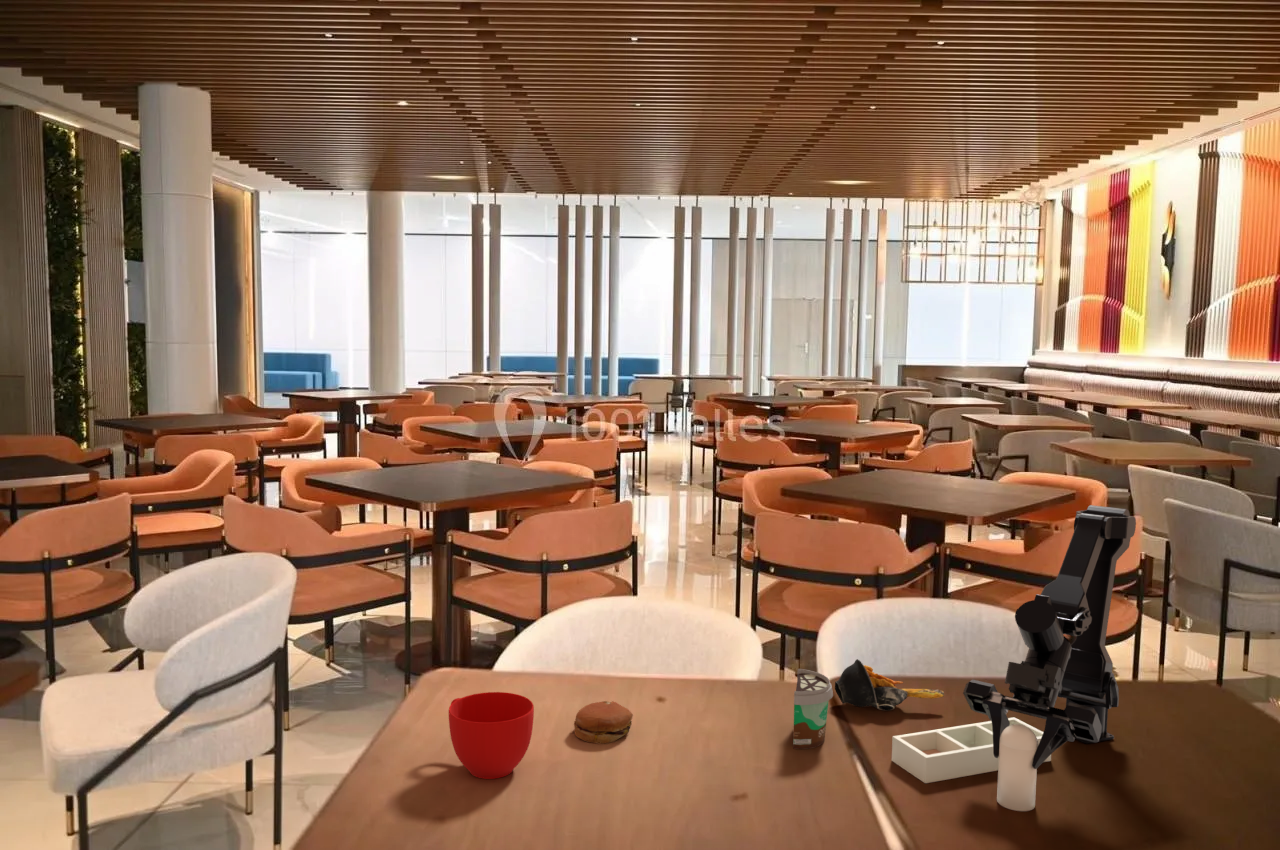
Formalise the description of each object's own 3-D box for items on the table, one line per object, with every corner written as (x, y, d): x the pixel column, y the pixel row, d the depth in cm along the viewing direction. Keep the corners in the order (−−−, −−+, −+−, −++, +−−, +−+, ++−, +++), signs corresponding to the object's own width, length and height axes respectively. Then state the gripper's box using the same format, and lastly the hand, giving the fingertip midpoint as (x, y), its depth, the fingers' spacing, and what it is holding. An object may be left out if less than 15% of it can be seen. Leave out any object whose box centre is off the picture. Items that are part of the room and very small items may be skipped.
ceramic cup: (485, 738, 167) (485, 679, 166) (550, 770, 155) (551, 707, 154) (418, 760, 158) (417, 699, 157) (481, 797, 146) (481, 730, 145)
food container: (831, 755, 162) (833, 695, 161) (792, 752, 163) (794, 692, 162) (832, 726, 174) (834, 670, 173) (796, 723, 175) (797, 667, 174)
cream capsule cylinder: (1017, 792, 150) (1021, 716, 149) (1042, 807, 145) (1047, 729, 144) (989, 797, 148) (992, 721, 147) (1014, 813, 143) (1017, 734, 142)
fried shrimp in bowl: (824, 670, 189) (913, 639, 190) (846, 729, 186) (937, 696, 187) (832, 668, 180) (925, 635, 182) (855, 729, 177) (950, 695, 178)
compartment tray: (1013, 740, 169) (1014, 717, 169) (1050, 760, 161) (1052, 736, 161) (891, 760, 160) (892, 736, 160) (925, 783, 153) (926, 757, 152)
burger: (576, 746, 165) (577, 718, 164) (572, 724, 174) (572, 698, 174) (636, 743, 166) (636, 716, 166) (628, 722, 175) (629, 696, 175)
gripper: (970, 627, 153) (937, 718, 146) (1100, 653, 141) (1071, 754, 134) (987, 665, 160) (957, 753, 153) (1113, 693, 148) (1086, 791, 141)
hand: (1014, 762), depth 145 cm, fingers closed on cream capsule cylinder, 5 cm apart
